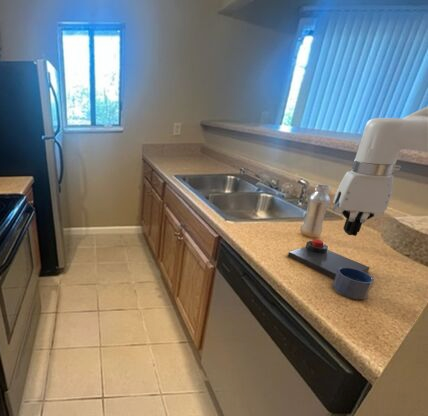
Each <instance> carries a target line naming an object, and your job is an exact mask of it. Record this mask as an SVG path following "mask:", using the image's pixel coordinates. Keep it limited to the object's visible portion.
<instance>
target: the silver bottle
mask: <svg viewBox="0 0 428 416" xmlns="http://www.w3.org/2000/svg"><path fill="white" fill-rule="evenodd" d="M314 190H315V191H314V192H313V193H311V194H310V195H309V196H308V198H307V206H306V213H305V217H304V219H303V222H302V223H301V225H300V233H301V234H302V235H304V236H305V237H309V238H318V237H320V236H321V235H322V233H323V225H324V218H325V215H326V212H327V210H328V208H329V206H330V203H331V198H330V196H329V192H330V186H329V185H327V184H317V185H316V186H315V189H314Z"/></svg>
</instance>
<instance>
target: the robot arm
mask: <svg viewBox="0 0 428 416" xmlns="http://www.w3.org/2000/svg"><path fill="white" fill-rule="evenodd" d="M402 150H410V151H416V152H423V153H428V105H427V106H425V107H423V108H421V109H419V110H416V111H415V112H412V113H410V114H408V115H406V116H404V117H401V118H400V117H375V118H372V119H369V120H367V122H366V124H365V127H364V130H363V133H362V136H361V139H360V142H359V145H358V149H357V152H356V155H355V159H354V161H353V163H352V164H353V165H352V167H351V170H350V171H349V170H348V171H346V173H345V174H344V176H343V177H342V179H341V182H340V184H339V186H338V188H337V190H336V192H335V195H334V198H333V204H334V206H333V207H332V211H333V212H334V213H335V214H340V215H343V216H344V218H345V222H344V225H343V231H344V232H345V234H346V235H348V236H353V237H357V235H358V233H360V230H361V228H362V226H363V223H366V222H367V220H370V219H371V218H378V217H383V216H384V215H385V212H386V211H387V209H388V207H389V204H390V202H391V198H392V195H393V190H394V181H395V179H394V178H395V177H394V175H393V174H394V172H399V171H401V167H402V166H401V165H400V164H399V165H397V161H398V158H399V155H400V153H401V151H402Z"/></svg>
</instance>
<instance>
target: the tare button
mask: <svg viewBox="0 0 428 416" xmlns="http://www.w3.org/2000/svg"><path fill="white" fill-rule="evenodd" d="M312 241H313V242H312V245H313V246H315V247H322V246H323V244H324V241H323V240H321V239H318V238H314V239H313V240H312Z"/></svg>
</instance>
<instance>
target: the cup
mask: <svg viewBox="0 0 428 416" xmlns="http://www.w3.org/2000/svg"><path fill="white" fill-rule="evenodd" d="M373 284H374V277H373V276H371V274H369V273H365V272H363V271H361V270H358V269H354V268H349V267H341V268H338V271H337V274H336V276H335V279H333V283H332V287H333V289H334V290H335V291H336V292H337V293H338V294H340V295H342V296H344V297H345V298H348V299H353V300H364V299H366V298H368V296H369V293H370V291H371V289H372V287H373Z"/></svg>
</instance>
